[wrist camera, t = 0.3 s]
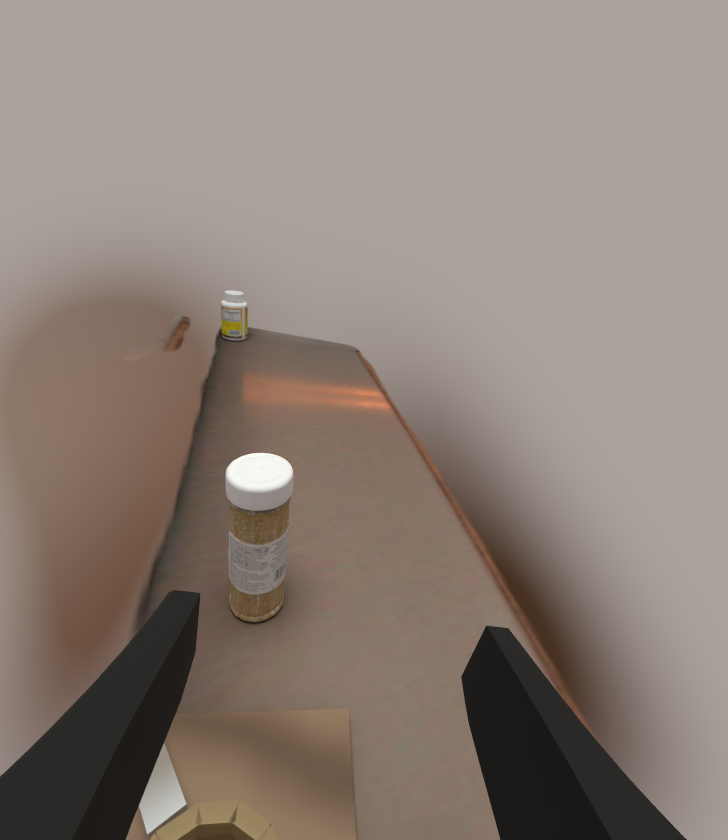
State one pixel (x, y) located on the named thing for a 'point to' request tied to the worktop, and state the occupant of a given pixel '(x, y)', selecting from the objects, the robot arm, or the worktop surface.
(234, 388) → the worktop surface
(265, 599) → the spice jar
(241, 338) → the supplement bottle
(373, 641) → the worktop surface
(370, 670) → the worktop surface
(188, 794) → the shaft board
